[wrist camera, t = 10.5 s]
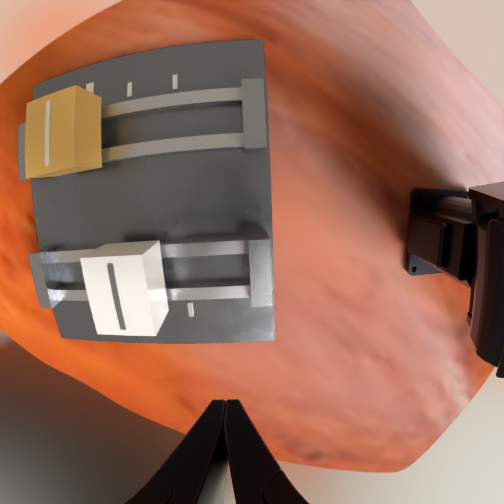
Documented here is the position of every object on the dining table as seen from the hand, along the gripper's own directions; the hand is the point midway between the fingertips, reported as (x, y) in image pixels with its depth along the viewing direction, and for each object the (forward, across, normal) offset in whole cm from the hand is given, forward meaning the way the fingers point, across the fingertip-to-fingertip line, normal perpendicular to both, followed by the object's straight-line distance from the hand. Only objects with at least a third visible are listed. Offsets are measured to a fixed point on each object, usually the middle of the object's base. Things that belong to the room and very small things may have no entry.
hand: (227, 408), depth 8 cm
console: (+12, +6, -6) cm, 15 cm away
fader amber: (+11, +9, -10) cm, 17 cm away
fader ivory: (+11, +6, -1) cm, 12 cm away
